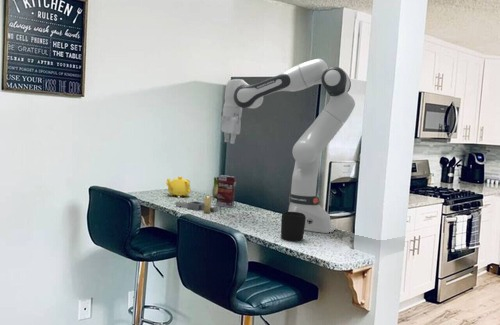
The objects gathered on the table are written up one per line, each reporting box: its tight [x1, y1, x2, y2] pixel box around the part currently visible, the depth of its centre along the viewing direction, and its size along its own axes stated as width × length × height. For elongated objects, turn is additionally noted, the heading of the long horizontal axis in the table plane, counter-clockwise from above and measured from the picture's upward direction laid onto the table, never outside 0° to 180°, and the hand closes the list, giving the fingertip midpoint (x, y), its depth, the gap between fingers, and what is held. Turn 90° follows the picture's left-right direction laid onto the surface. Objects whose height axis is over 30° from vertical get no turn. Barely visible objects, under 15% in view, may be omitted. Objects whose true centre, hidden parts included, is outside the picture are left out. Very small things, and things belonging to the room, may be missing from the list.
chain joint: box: [174, 200, 219, 214], centre depth 243 cm, size 22×6×3 cm, turn 65°
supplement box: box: [215, 174, 237, 208], centre depth 257 cm, size 9×5×16 cm, turn 76°
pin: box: [203, 195, 212, 214], centre depth 234 cm, size 3×3×8 cm
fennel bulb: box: [212, 176, 219, 198], centre depth 284 cm, size 6×5×12 cm
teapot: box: [165, 176, 191, 197], centre depth 278 cm, size 14×14×11 cm
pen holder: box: [280, 211, 306, 242], centre depth 194 cm, size 9×9×10 cm
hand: (229, 142), depth 232 cm, fingers open, 8 cm apart
